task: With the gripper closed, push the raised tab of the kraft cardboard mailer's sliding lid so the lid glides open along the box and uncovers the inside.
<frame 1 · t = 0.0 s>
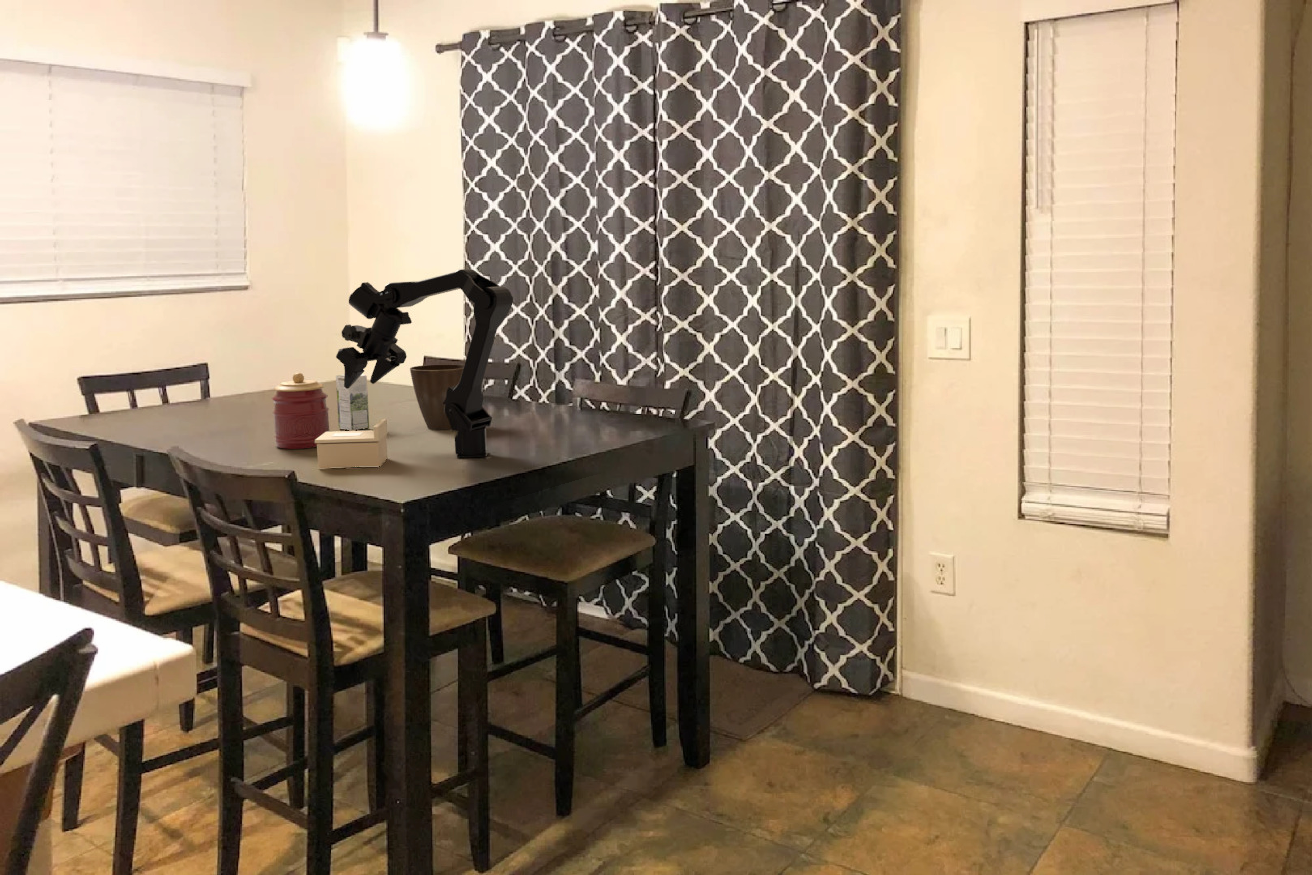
hand: (359, 385, 260), 15 cm above the table, tool tilted 35°, fingers open, 9 cm apart
plant pot: (442, 428, 289), on the table
syrup box: (354, 430, 289), on the table
canister: (303, 445, 268), on the table
lid: (351, 430, 241), point 7 cm above the table, slide at 0.0 cm
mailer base: (353, 463, 242), on the table
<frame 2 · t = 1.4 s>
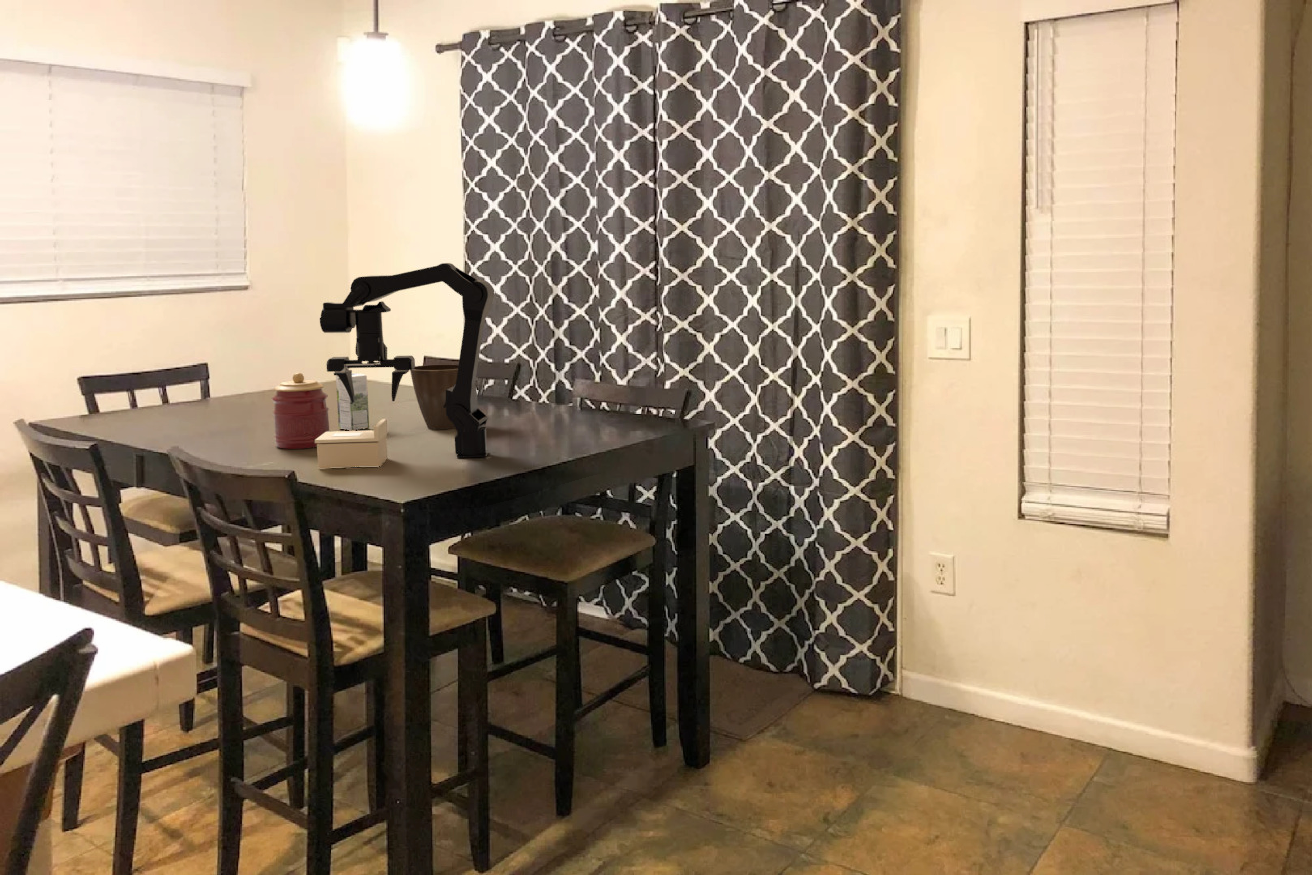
hand: (373, 401, 249), 13 cm above the table, tool pointing down, fingers open, 9 cm apart
nothing on the table moved.
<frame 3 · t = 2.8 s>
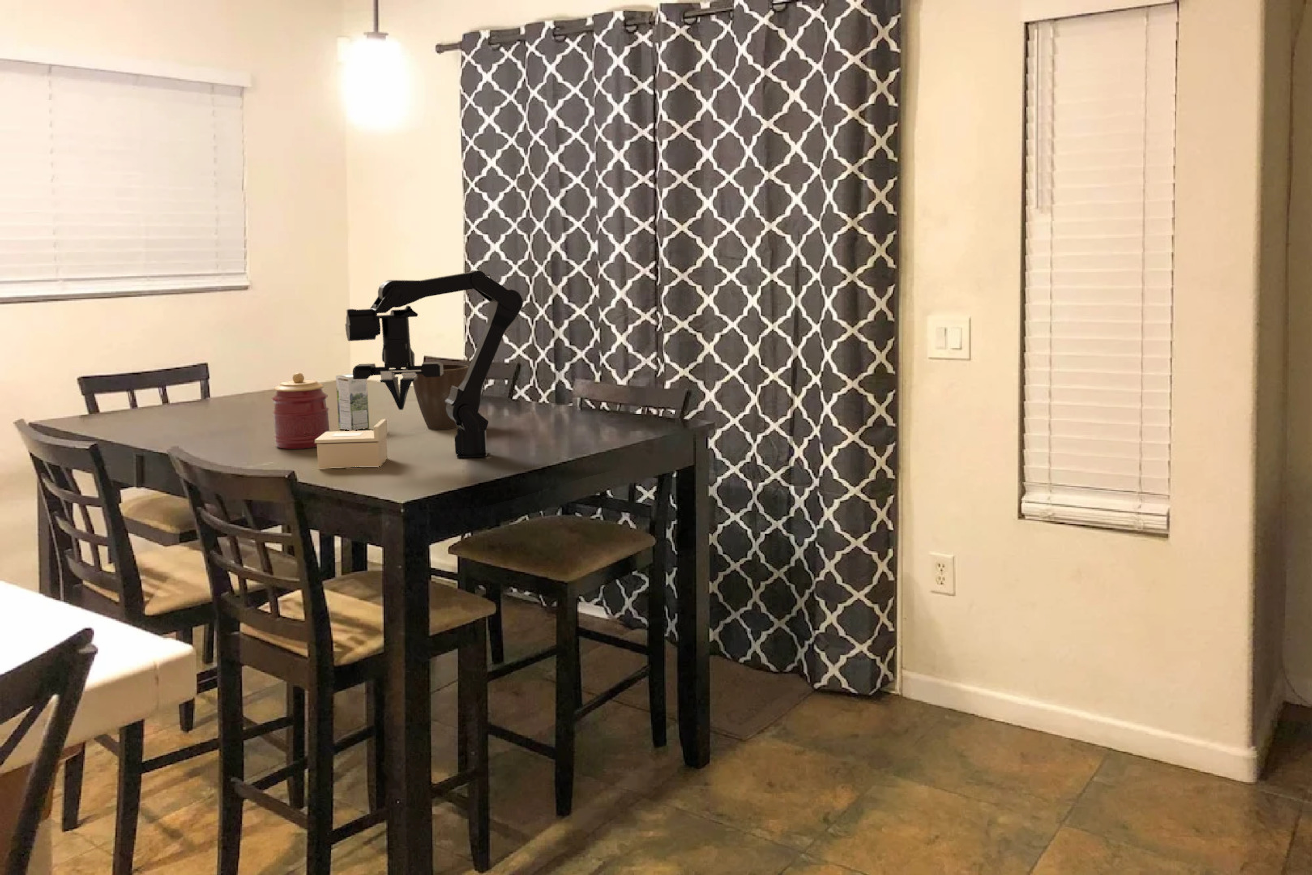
hand: (401, 409, 241), 12 cm above the table, tool pointing down, fingers closed
nothing on the table moved.
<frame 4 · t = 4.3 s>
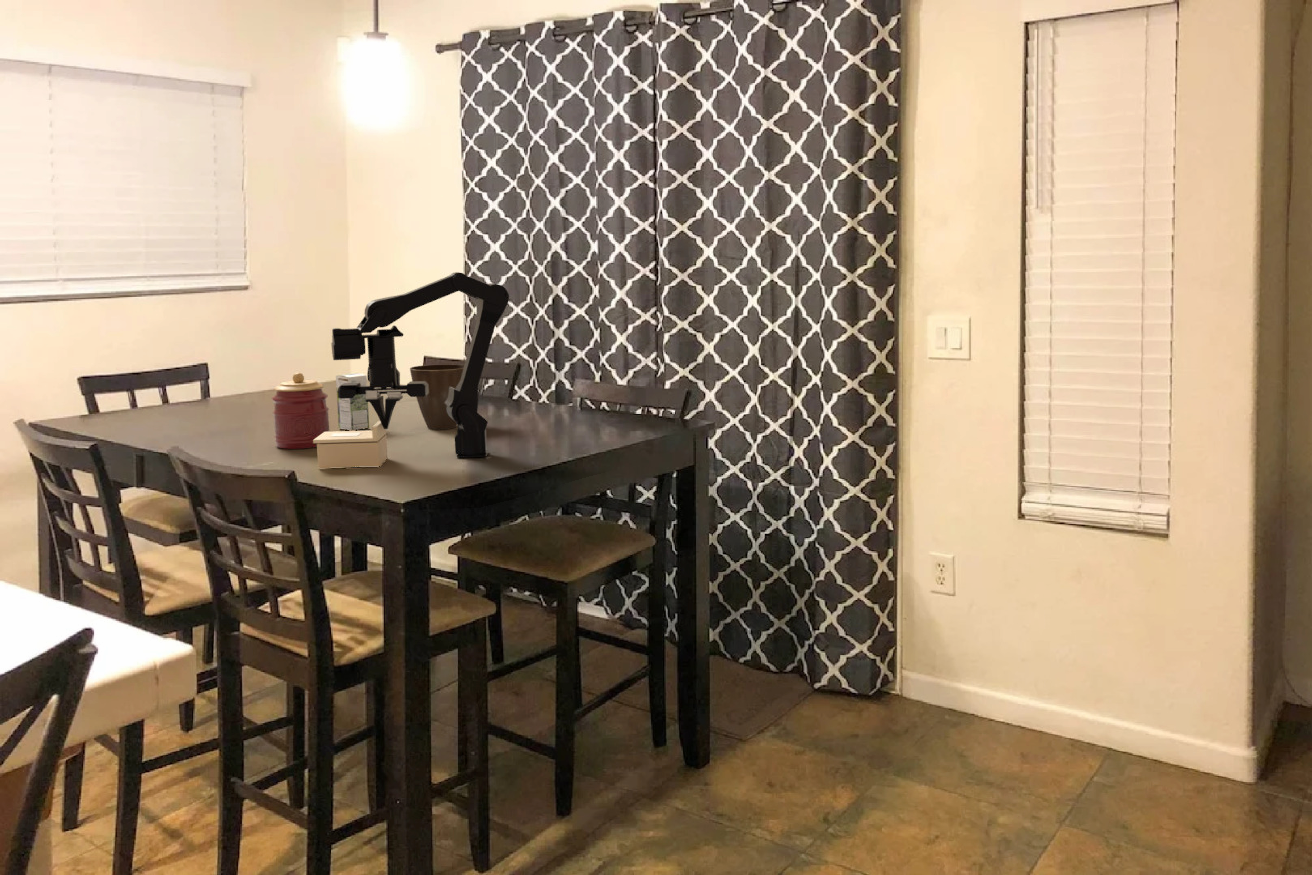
hand: (386, 428, 242), 8 cm above the table, tool pointing down, fingers closed
lid: (350, 430, 241), point 7 cm above the table, slide at 0.3 cm, touching gripper
everything else where it was.
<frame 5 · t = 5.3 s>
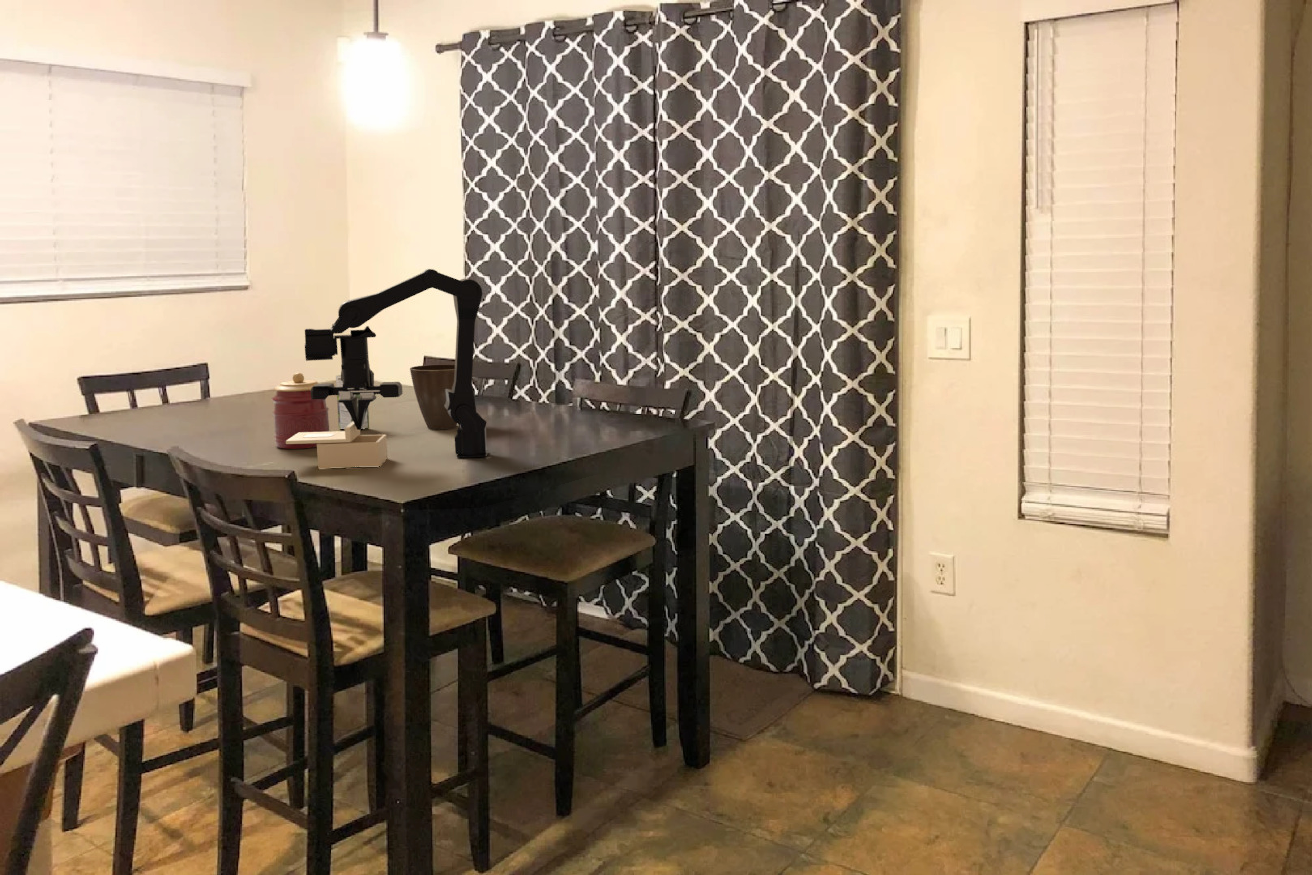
hand: (359, 429, 241), 8 cm above the table, tool pointing down, fingers closed
lid: (323, 431, 241), point 7 cm above the table, slide at 6.1 cm, touching gripper
everything else where it was.
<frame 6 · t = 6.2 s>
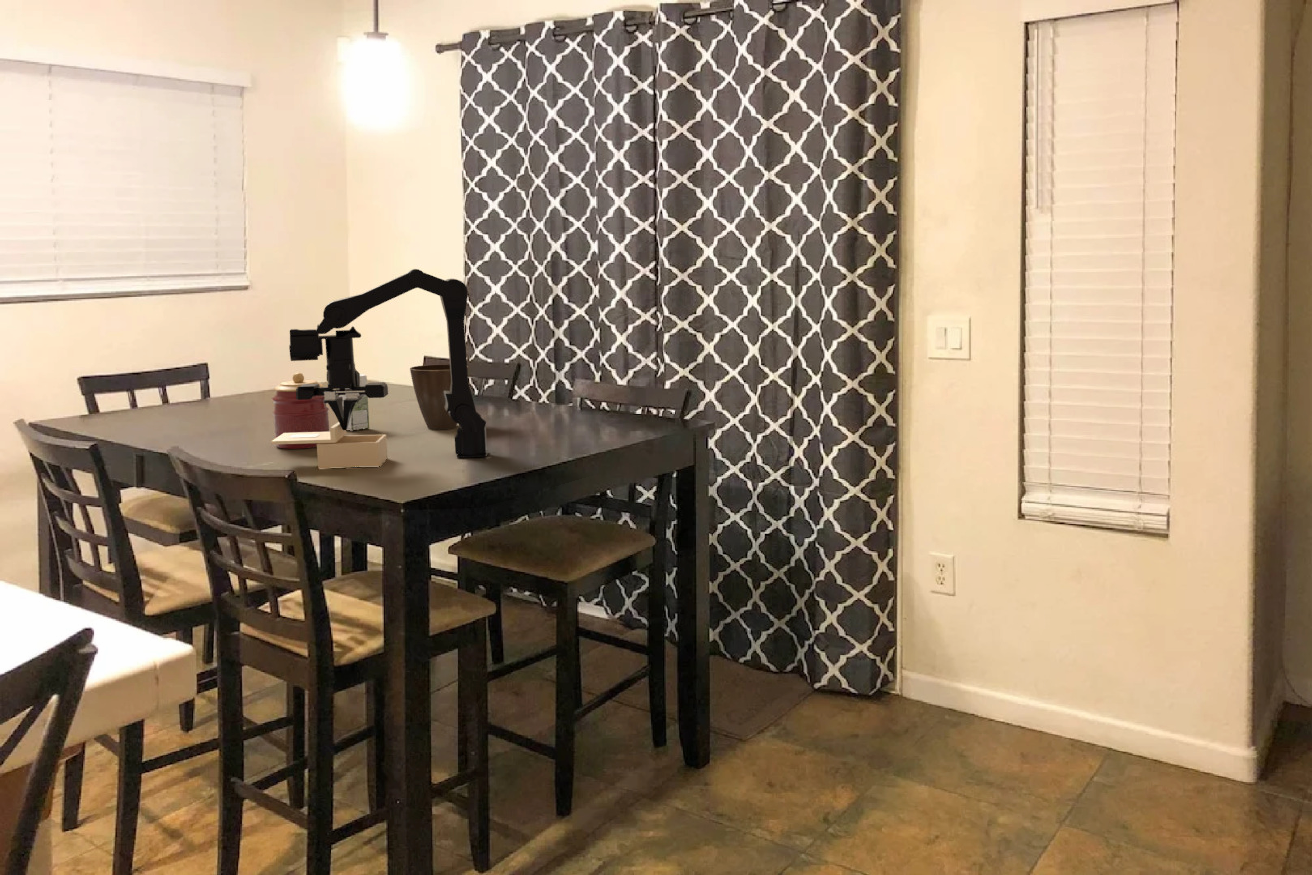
hand: (345, 430, 241), 8 cm above the table, tool pointing down, fingers closed
lid: (308, 432, 241), point 7 cm above the table, slide at 9.2 cm, touching gripper
everything else where it was.
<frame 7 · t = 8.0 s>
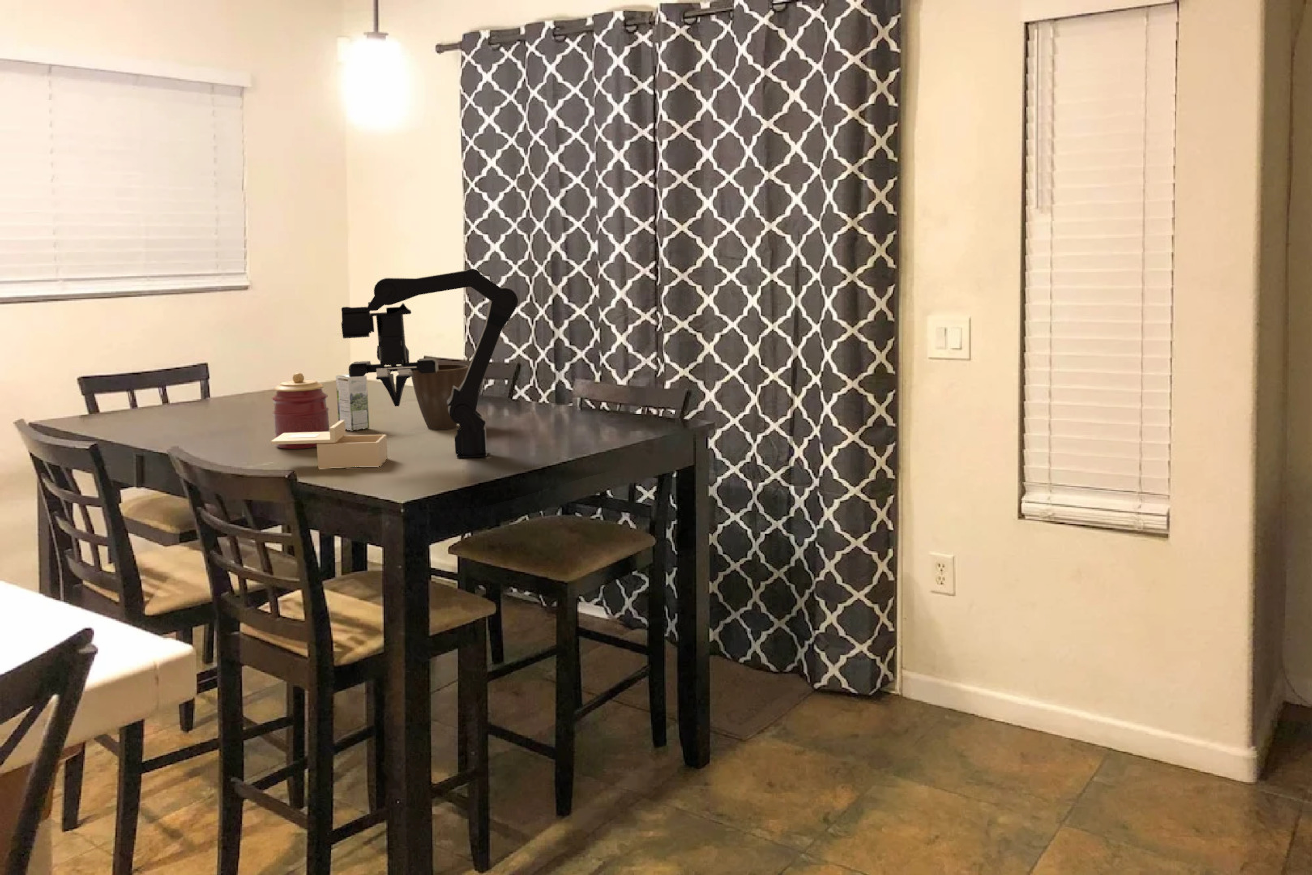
hand: (397, 406, 244), 12 cm above the table, tool pointing down, fingers closed
lid: (308, 432, 241), point 7 cm above the table, slide at 9.3 cm
everything else where it was.
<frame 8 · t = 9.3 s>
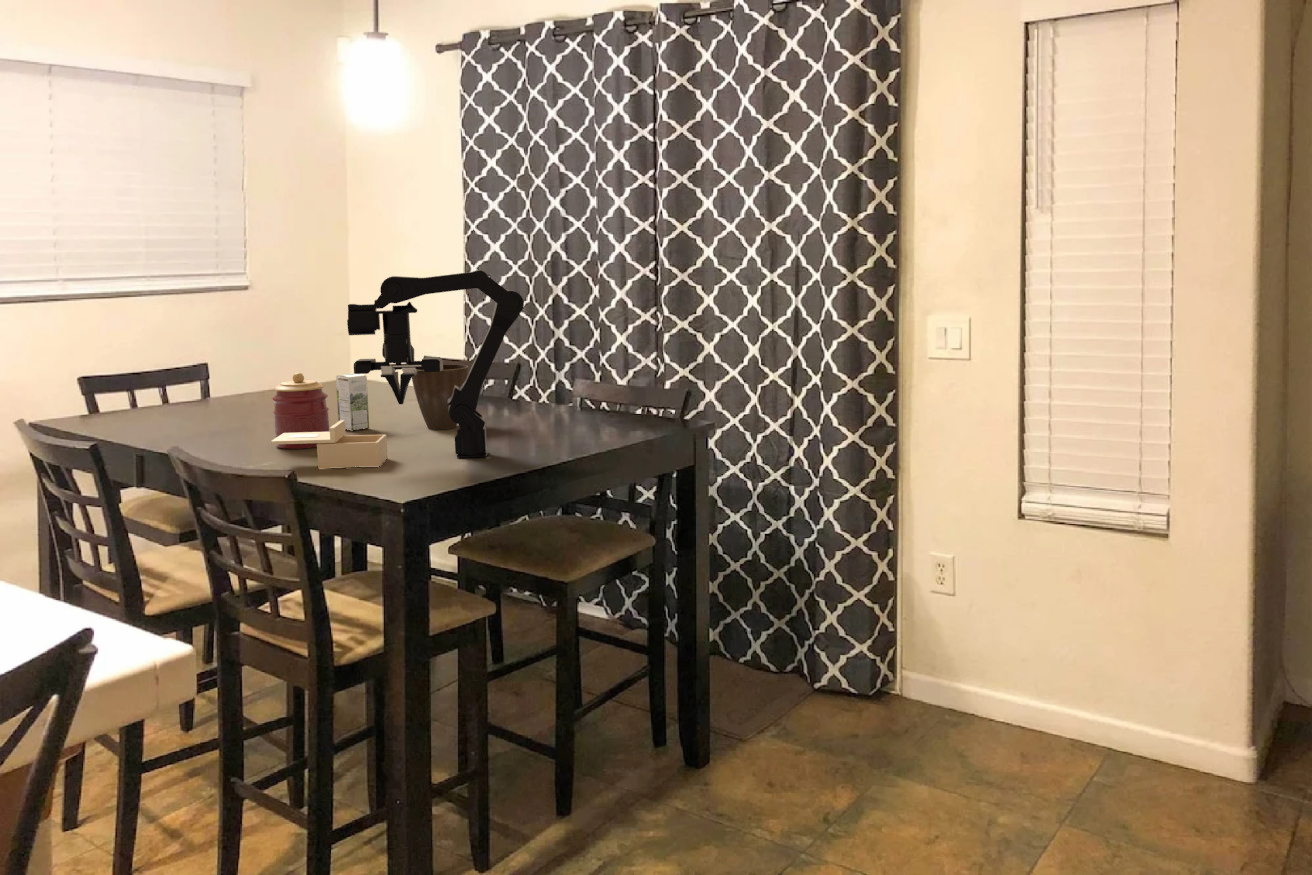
hand: (401, 404, 244), 13 cm above the table, tool pointing down, fingers closed
nothing on the table moved.
at the end: lid slide at 9.3 cm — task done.
